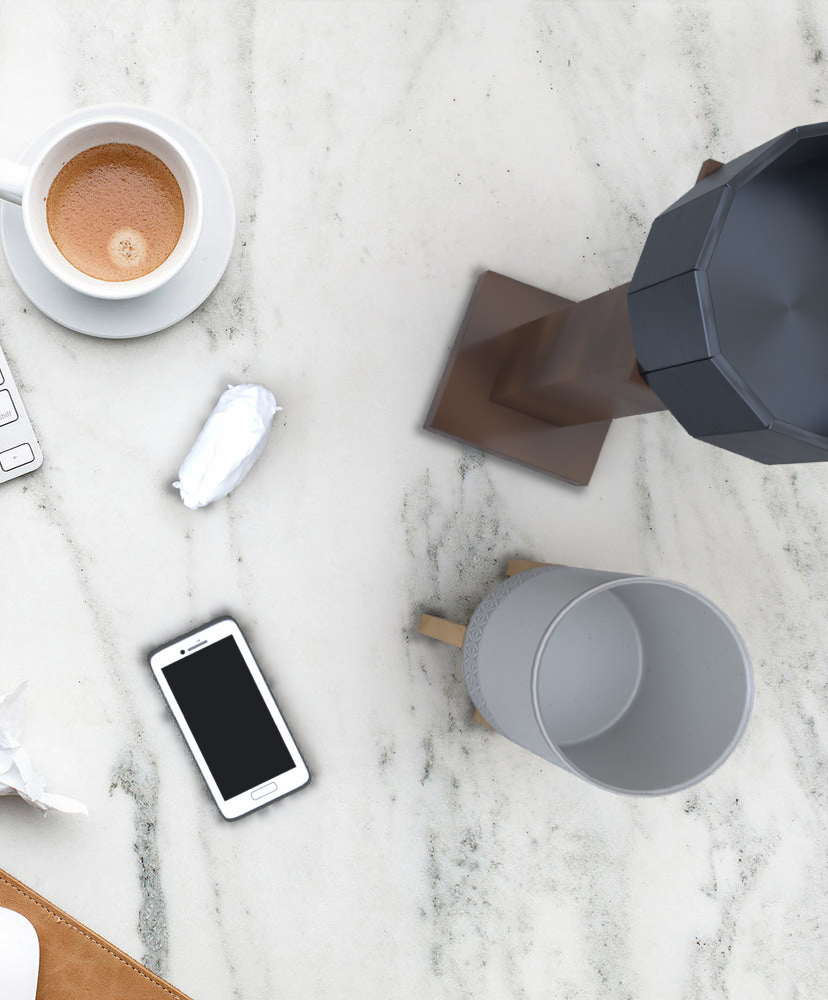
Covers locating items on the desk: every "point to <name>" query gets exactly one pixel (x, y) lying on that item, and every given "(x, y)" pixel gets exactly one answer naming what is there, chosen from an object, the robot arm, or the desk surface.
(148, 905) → the desk surface
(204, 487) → the wrapped goat cheese
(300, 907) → the desk surface
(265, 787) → the cell phone
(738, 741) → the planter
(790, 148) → the bowl
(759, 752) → the desk surface
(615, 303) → the stand
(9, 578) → the desk surface
